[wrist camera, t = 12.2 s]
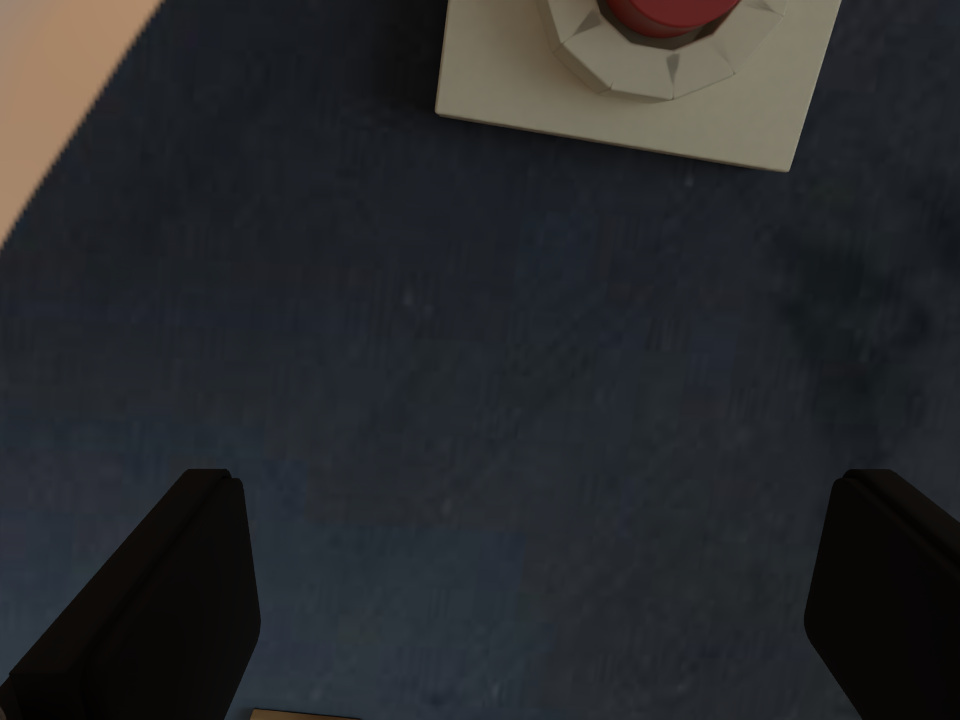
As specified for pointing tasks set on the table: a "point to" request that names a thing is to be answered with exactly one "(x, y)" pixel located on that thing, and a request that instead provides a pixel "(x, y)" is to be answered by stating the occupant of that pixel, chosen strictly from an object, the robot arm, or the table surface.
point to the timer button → (667, 15)
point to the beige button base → (639, 76)
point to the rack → (289, 716)
